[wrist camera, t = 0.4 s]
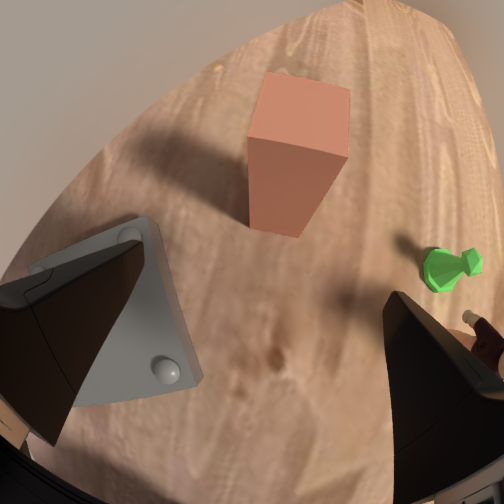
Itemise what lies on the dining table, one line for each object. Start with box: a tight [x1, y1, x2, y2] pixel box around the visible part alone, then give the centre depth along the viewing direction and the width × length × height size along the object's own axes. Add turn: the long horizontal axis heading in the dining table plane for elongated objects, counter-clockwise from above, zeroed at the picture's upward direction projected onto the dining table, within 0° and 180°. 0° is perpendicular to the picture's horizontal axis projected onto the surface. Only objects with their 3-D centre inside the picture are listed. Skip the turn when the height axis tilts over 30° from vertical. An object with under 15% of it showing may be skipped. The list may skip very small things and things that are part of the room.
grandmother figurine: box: [446, 310, 504, 380], centre depth 15 cm, size 8×4×13 cm, turn 31°
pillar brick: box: [247, 72, 350, 238], centre depth 17 cm, size 4×4×13 cm
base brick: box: [28, 215, 204, 407], centre depth 20 cm, size 13×13×4 cm
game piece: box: [423, 248, 483, 293], centre depth 19 cm, size 4×4×6 cm
